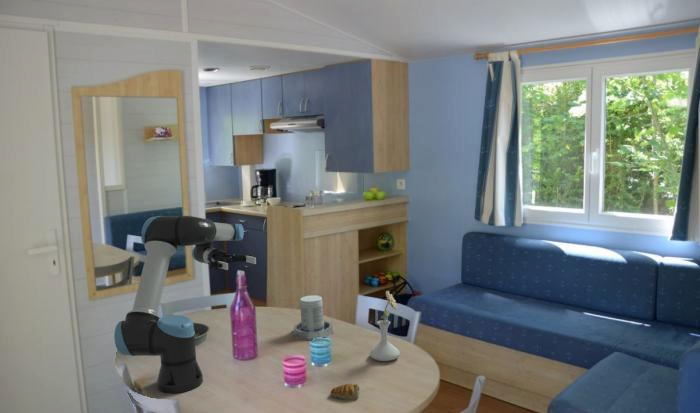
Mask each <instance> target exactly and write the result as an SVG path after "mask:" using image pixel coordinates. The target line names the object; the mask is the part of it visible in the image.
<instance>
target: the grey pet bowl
mask: <svg viewBox="0 0 700 413" xmlns="http://www.w3.org/2000/svg"><path fill="white" fill-rule="evenodd" d="M333 330H334V329H333V323H332V322H330V321H328V320H324V330H321V331H315V332H306V331H302V323H301V321H300V322H297V323H296V324H294V326H293V335H294V336H293V337H295V338H297V339H299V340H300V339H301V340H305V339H306V340H309V341H310V339H313V338H317V337H326V338H328V337H330V336H331V335H333V334H332V333H334V332H333ZM330 334H331V335H330ZM329 335H330V336H329Z"/></svg>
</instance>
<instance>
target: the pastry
mask: <svg viewBox="0 0 700 413" xmlns="http://www.w3.org/2000/svg"><path fill="white" fill-rule="evenodd" d="M360 393H361V390H360V385H359V384H358V383H355V384H354V383H353V384H352V383H346V384H342V385H338V386H335V387H333V388H331V391H330V395H331V396H332V397H333V398H334V399H338V400H339V399H340V400H358V399H359V398H360Z"/></svg>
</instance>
